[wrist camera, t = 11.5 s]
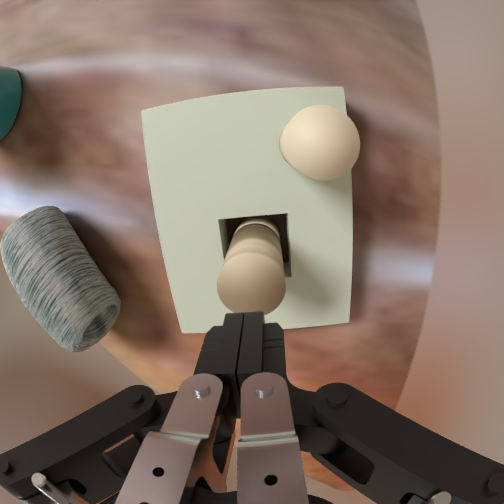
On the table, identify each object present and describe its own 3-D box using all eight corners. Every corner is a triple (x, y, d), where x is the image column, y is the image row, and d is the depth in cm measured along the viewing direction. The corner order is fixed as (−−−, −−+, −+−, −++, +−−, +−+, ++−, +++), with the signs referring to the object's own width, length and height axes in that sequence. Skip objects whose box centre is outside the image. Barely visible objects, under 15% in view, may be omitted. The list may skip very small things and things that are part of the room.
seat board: (156, 114, 20) (96, 100, 12) (333, 94, 19) (373, 64, 11) (190, 314, 26) (161, 381, 18) (341, 304, 25) (368, 371, 17)
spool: (151, 323, 23) (53, 376, 15) (113, 328, 29) (40, 365, 21) (96, 177, 22) (-7, 201, 14) (70, 216, 28) (-6, 239, 20)
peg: (232, 217, 23) (211, 258, 15) (277, 213, 23) (283, 253, 14) (237, 259, 24) (222, 319, 16) (280, 255, 24) (287, 314, 15)
